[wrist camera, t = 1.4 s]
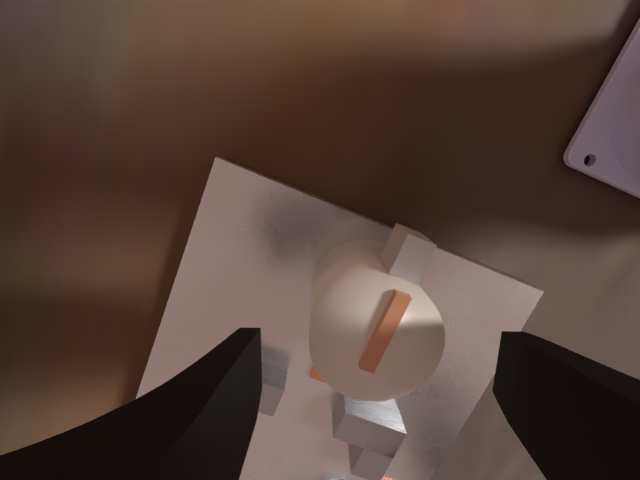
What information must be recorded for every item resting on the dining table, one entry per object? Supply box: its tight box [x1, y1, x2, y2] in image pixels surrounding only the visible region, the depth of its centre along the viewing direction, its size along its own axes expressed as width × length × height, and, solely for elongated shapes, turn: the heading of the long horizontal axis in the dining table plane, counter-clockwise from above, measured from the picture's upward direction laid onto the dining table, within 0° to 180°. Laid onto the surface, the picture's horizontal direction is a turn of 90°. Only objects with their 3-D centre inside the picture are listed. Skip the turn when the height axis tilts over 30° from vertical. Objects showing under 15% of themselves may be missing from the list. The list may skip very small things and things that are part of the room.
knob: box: [309, 223, 445, 402], centre depth 13 cm, size 6×4×5 cm
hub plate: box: [136, 157, 544, 480], centre depth 17 cm, size 16×18×2 cm
